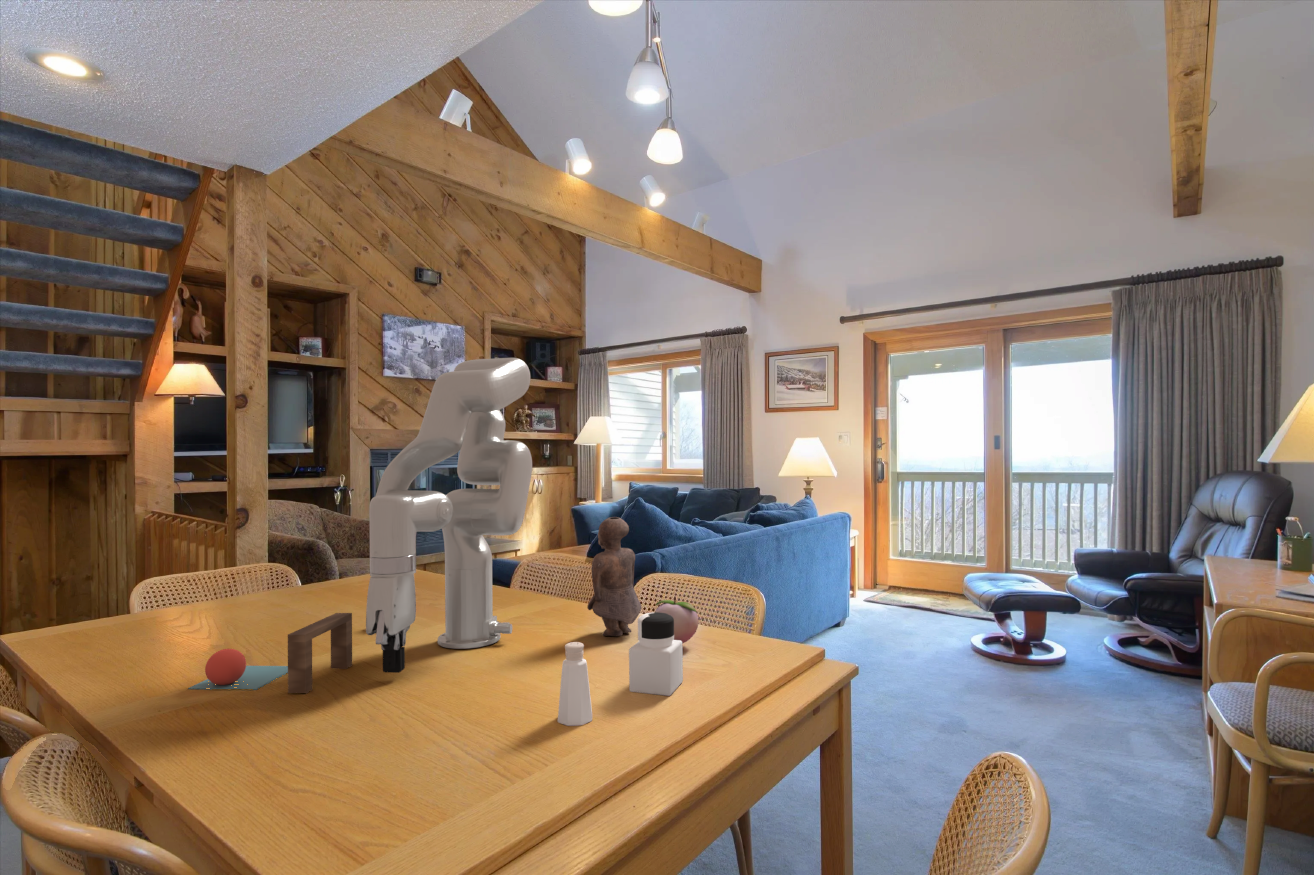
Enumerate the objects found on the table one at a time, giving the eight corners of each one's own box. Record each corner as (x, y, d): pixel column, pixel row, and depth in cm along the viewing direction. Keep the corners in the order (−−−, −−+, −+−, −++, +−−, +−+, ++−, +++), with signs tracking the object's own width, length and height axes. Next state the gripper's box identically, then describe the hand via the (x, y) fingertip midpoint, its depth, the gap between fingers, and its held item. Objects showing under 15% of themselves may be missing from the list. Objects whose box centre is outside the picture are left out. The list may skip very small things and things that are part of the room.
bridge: (352, 665, 128) (351, 612, 129) (305, 693, 113) (305, 634, 114) (336, 664, 129) (336, 612, 129) (287, 693, 114) (287, 634, 114)
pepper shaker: (563, 729, 98) (563, 651, 98) (551, 716, 103) (550, 642, 103) (599, 721, 100) (598, 645, 101) (585, 709, 105) (584, 637, 105)
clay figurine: (616, 624, 156) (615, 513, 156) (652, 630, 150) (651, 515, 150) (578, 637, 145) (577, 518, 145) (615, 645, 139) (614, 521, 140)
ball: (208, 663, 121) (232, 687, 121) (189, 670, 115) (214, 696, 115) (236, 638, 122) (259, 662, 122) (219, 644, 116) (243, 670, 116)
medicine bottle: (683, 682, 117) (682, 611, 117) (670, 696, 110) (669, 621, 110) (643, 678, 119) (643, 608, 119) (628, 692, 113) (627, 618, 113)
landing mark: (298, 667, 128) (298, 666, 128) (256, 690, 116) (256, 688, 116) (236, 666, 128) (236, 665, 128) (188, 689, 116) (188, 687, 116)
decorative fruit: (645, 650, 135) (644, 599, 136) (660, 639, 143) (660, 591, 143) (690, 655, 132) (689, 602, 132) (703, 643, 140) (703, 594, 140)
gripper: (391, 558, 128) (392, 657, 128) (350, 573, 113) (350, 685, 113) (431, 558, 128) (431, 658, 127) (394, 573, 113) (395, 686, 112)
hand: (393, 670), depth 120 cm, fingers closed
